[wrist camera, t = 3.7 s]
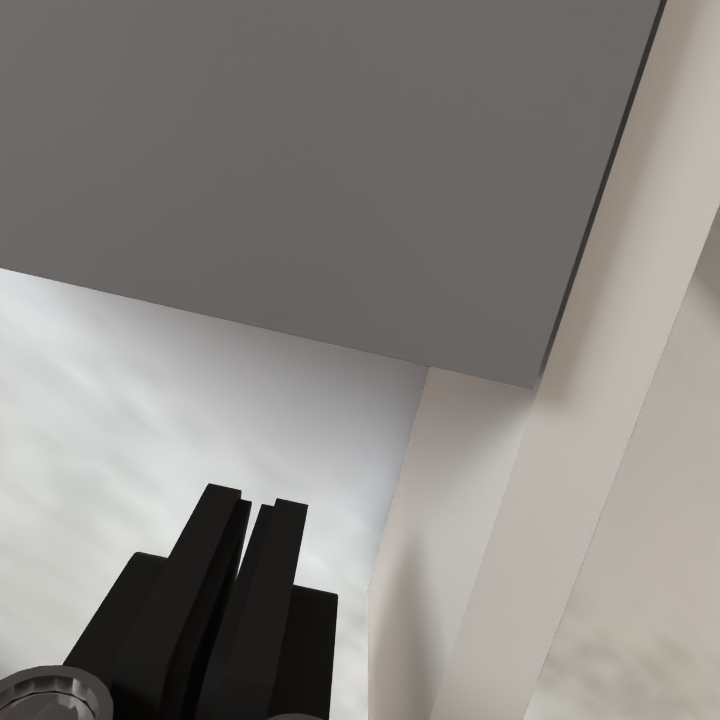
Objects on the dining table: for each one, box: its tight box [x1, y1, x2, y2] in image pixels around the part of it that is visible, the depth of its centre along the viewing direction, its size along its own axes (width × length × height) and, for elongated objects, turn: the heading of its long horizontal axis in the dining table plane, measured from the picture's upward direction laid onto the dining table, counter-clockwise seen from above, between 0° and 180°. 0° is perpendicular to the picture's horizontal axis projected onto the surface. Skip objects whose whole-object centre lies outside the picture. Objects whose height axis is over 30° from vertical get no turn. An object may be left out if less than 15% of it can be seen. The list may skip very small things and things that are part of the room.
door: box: [367, 0, 720, 720], centre depth 9 cm, size 26×2×7 cm, turn 167°
